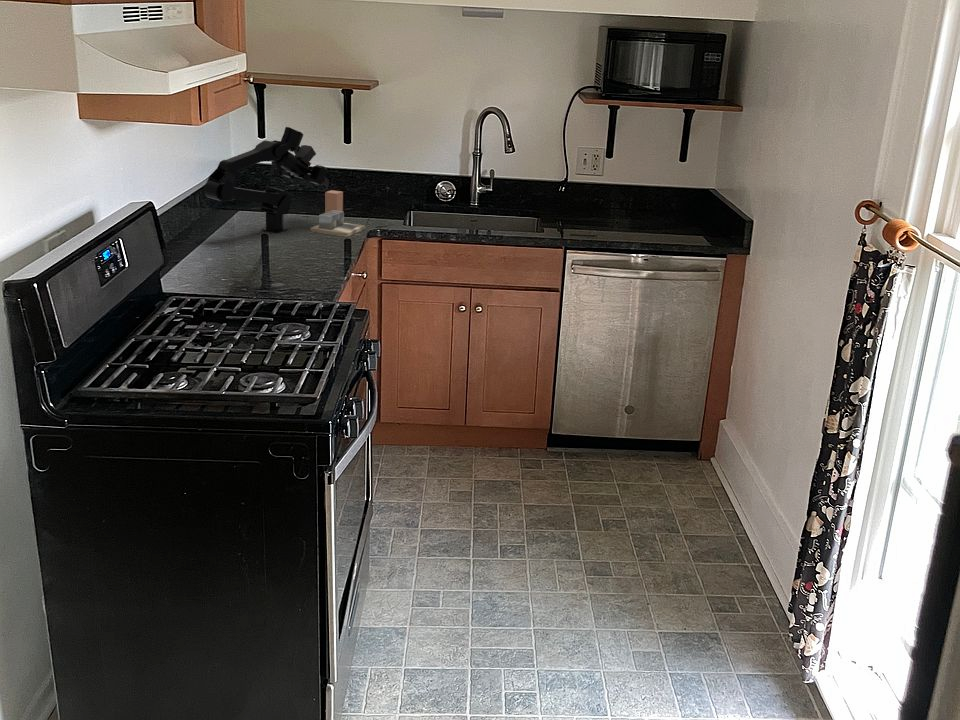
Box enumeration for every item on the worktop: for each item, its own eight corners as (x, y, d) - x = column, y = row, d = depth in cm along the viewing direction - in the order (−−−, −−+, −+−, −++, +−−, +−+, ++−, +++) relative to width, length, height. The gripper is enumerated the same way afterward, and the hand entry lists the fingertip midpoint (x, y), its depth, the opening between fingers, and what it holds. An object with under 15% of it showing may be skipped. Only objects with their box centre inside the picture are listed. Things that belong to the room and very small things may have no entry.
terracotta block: (336, 224, 332) (336, 193, 328) (325, 222, 334) (325, 192, 330) (342, 221, 336) (342, 191, 332) (331, 220, 338) (331, 190, 334)
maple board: (346, 236, 316) (347, 220, 314) (310, 231, 320) (310, 215, 318) (365, 229, 328) (365, 213, 326) (329, 223, 332) (330, 208, 330)
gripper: (318, 144, 312) (346, 164, 325) (280, 137, 322) (309, 156, 335) (305, 175, 311) (334, 193, 324) (268, 166, 321) (298, 185, 334)
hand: (319, 181), depth 329 cm, fingers open, 9 cm apart
